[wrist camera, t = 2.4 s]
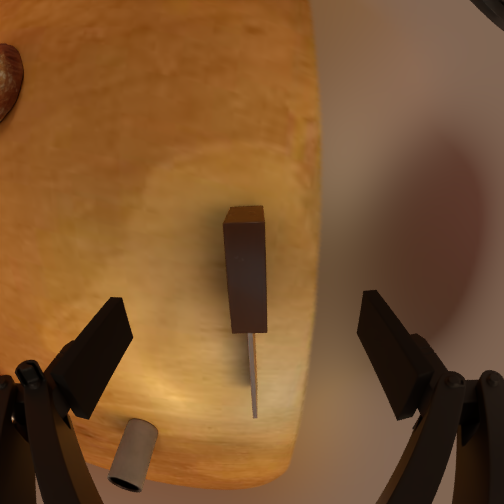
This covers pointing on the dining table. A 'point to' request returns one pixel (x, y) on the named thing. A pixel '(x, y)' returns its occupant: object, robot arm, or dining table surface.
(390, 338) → the robot arm
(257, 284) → the knife
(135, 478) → the grey cylinder
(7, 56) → the bread roll
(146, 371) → the dining table surface
